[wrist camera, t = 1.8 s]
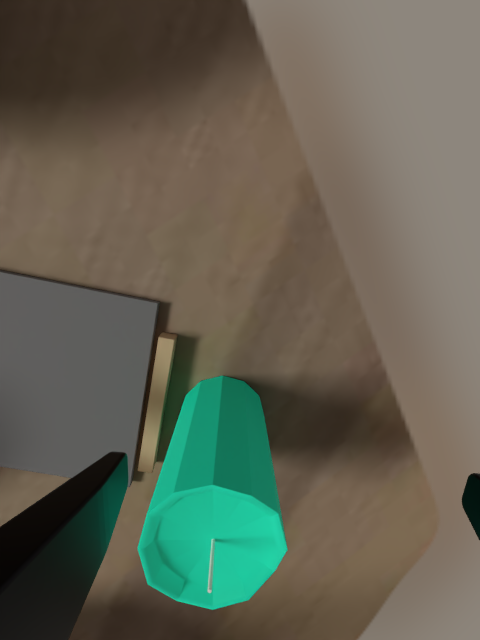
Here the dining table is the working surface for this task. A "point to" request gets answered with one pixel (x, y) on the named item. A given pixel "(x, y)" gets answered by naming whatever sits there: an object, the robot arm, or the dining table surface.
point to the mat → (71, 373)
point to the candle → (215, 501)
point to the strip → (157, 401)
